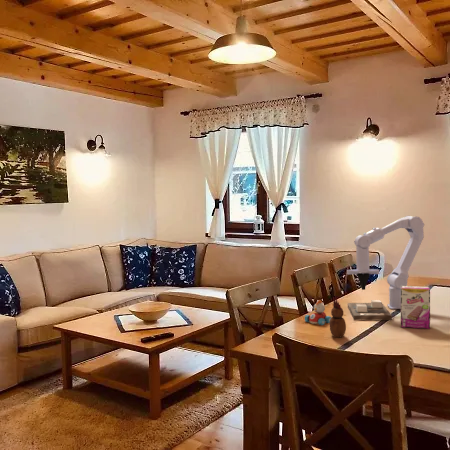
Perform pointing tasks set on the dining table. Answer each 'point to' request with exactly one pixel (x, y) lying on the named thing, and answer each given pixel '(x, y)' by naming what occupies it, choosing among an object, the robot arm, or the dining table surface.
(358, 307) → the tab
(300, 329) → the dining table surface
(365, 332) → the dining table surface
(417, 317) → the candy bar box
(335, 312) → the wooden figurine
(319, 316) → the toy car
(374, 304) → the tab
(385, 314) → the switch panel
